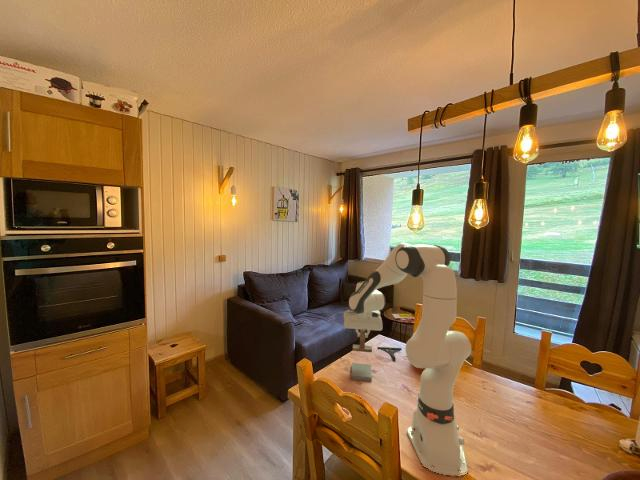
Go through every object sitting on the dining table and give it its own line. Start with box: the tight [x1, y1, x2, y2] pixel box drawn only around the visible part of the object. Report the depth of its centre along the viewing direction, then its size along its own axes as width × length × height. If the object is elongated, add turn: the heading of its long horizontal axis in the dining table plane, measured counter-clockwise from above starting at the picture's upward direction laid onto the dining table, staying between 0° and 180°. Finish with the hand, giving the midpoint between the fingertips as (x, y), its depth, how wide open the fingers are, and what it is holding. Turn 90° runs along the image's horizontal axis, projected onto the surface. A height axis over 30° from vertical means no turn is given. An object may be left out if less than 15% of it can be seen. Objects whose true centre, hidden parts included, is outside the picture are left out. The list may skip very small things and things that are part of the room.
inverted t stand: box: [352, 329, 373, 353], centre depth 140 cm, size 4×10×10 cm, turn 82°
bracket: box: [377, 346, 403, 362], centre depth 157 cm, size 14×15×3 cm
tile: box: [350, 362, 373, 382], centre depth 137 cm, size 2×10×12 cm
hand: (362, 336), depth 140 cm, fingers closed on inverted t stand, 2 cm apart
